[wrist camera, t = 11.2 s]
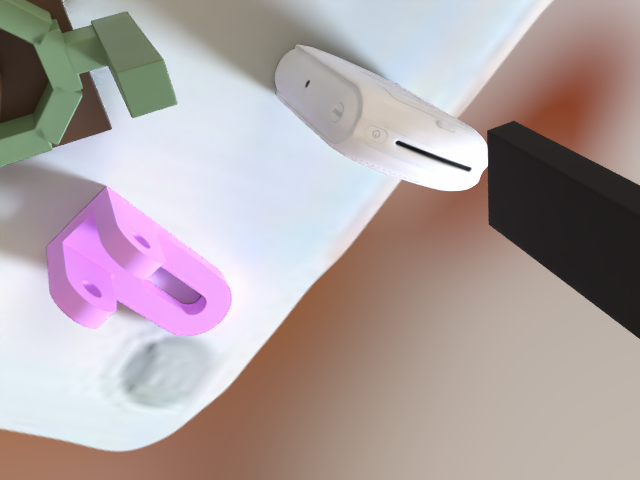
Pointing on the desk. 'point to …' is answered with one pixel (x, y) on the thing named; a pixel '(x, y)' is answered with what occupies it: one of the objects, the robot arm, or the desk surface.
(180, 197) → the desk surface
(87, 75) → the peg stand
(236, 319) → the desk surface
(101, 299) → the bracket
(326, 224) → the desk surface
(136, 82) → the sage ring
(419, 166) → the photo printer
